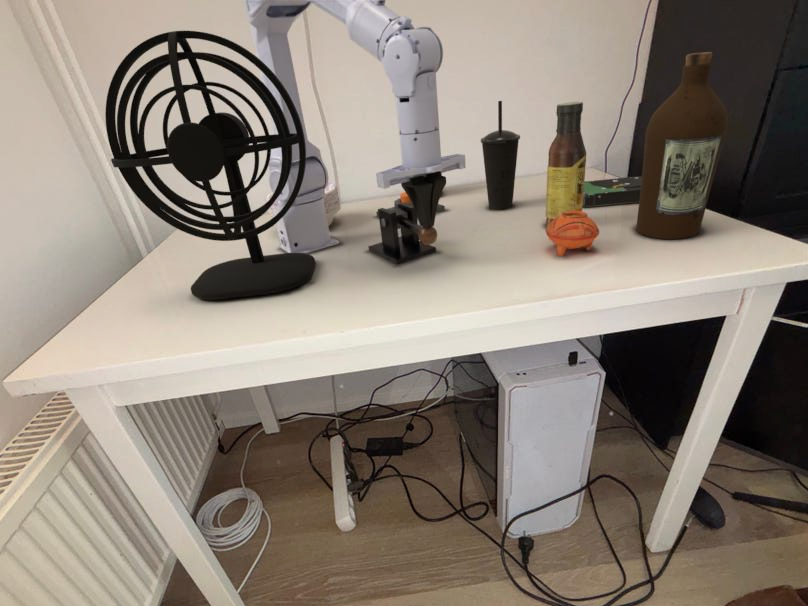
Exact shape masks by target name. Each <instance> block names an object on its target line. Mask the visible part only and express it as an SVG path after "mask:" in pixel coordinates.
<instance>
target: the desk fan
mask: <svg viewBox="0 0 808 606" xmlns="http://www.w3.org/2000/svg"><path fill="white" fill-rule="evenodd" d="M187 39H192V40H193V39H194V40H202V41H208V42H210V43H214V44H218V45H220V46H223V47H225V48H228V49H230V50H231V51H233V52H235V53H237V54H239V55H240V56H242V57H244V58H245V59H246V60H248V61H249V62H250V63H251V64H253V66H255V67H257V69H258V70H259V71H260V70H261V71H262V72H263V73H264V74H265V75H266V76H267V77H268V79H269V80H270V81H271V82H272V83H273V85H274V86H275V87H276V89H277V90H278V92H279V93H280V95H281V96H282V98H283V100H284V101H285V103H286V105H287V107H288V109H289V112H290V114H291V116H292V119H293V122H294V125H295V129H296V132H297V133H291V134H290V131H289V127H288V124H287V121H286V118H285V116H284V114H283V111H282V109H281V107H280V106H279V104H278V102H277V100H276V99H275V97H274V96H273V94H272V93H271V92H270V90H269V89H268V88H267V87H266V86H265V85H264V83H263V81H262V79H260V78H258V76H256V75H255V74H254V73H253V72H252V71H250V69H248V68H247V67H245V66H243V65H242V64H240V63H238V62H236V61H234V60H232V59H230V58H228V57H225V56H222V55H219V54H215V53H210V52H202V51H193V50H192V46H191V45H190V43H189V41H188V40H187ZM164 43H167V53H165V54H162V55H159V56H156V57H155V58H153V59H151V60H148V61H146V63H144V64H143V65H142V66H140V67H139V68H138V69H137V70H136V71H135V72H134V73H133V74H132V75H131V77H130V78H129V79H128V81H127V83H126V84H125V87H124V89H123V90H122V93H121V95H120V98H119V102H118V97H119V93H120V89H121V86H122V84H123V81H124V80H125V77H126V76H127V74H128V72H129V71H130V69H131V68H132V67H133V65H134V64H135V63H136V62H137V61H138V60H139V59H140V58H141V57H142V56H143V55H144V54H145V53H147V52H148V51H150V50H152V49H154V48H155V47H157V46H160V45H161V44H164ZM178 45H179V46H180V48H181V49H182V51H178ZM184 60H187V61H188V62H189V66H190V68H191V70H192V72H193V75H194V77H195V79H196V82H195V83H192V84H191V83H190V84H183V82H182V76H181V71H180V70H181V69H180V64H179V62H180V61H184ZM197 60H200V61H206V62H209V63H211V64H215V65H217V66H219V67H222V68H223V69H225V70H227V71H229V72H231V73H232V74H234V75H235V76H236V77H238V78H239V79H241V80H242V81H243V82H244V83H245V84H247V85H248V86H249V87H250V88H251V90H252V91H254V93H255V94H256V95H257V96H258V97H259V99H260V100H261V101H262V103H263V104H264V106H265V107H266V109H267V111H268V113H269V115H270V114H271V116H272V118H273V121H274V123H275V125H276V128H277V131H278V134H275V133H274V134H270V133H269V129H268V126H267V124H266V121H265V119H264V117H263V116H262V114H261V112H260V111H259V109H258V108H257V107H256V105H255V104H254V103H253V102H252V101H251V100H250V99H249V98H248V97H247V96H246V95H244V94H243V93H241V92H240V91H239V90H237V89H235V88H234V87H231V86H229V85H226V84H223V83H220V82H217V81H216V82H215V81H206V80H205V78H204V75H203V73H202V71H201V68H200V65H199V63H198V61H197ZM169 66H170V67H169ZM167 67H169V68H170V73H171V78H172V83H173V86H170V87H167V88H165V89H163V90H161V91H159V92H158V93H156V94H155V95H154V96H153V97H152V98H151V99H150V100H149V101H148V103H147V104H146V106H145V108H144V109H143V111H142V114H141V116H140V120H139V111H140V105H141V101H142V98H143V95H144V94H145V91H146V89H147V87H148V86H149V84H150V82H151V81H152V80H153V79H154V77H155V76H157V75H158V74H159V73H160V72H161V71H163V70H164V69H165V68H167ZM209 87H216V88H219V89H223V90H226V91H228V92H230V93H232V94H234V95H236V96H237V97H238V98H240V99H241V100H242V101H243V102H245V104H247V105H248V107H250V109H251V110H252V111H253V112H254V114H255V115H256V117H257V118H258V120H259V123H260V125H261V126H262V129H263V133H264V135H255V132H254V130H253V128H252V127H251V124H250V123H249V121H248V120H247V117H246V116H245V115H244V113H242V111H241V110H240V109H239V108H238V107H237V106H236V105H235V104H234V103H233V102H232V101H231V100H230V99H229V98H227V97H226V96H224V95H222V94H221V93H219V92H218V91H215V90H213V89H211V88H209ZM135 88H136V89H135ZM190 90H194V91H199V92H201V95H202V98H203V101H204V104H205V107H206V110H207V112H208V114H207V115H206V116H204V117H203V118H201V119H200V121H199V122H192V120H191V116H190V112H189V109H188V104H187V100H186V96H185V93H187V92H189V91H190ZM134 91H135V92H134ZM133 92H134V94H133ZM172 92H175V94H174V95H173V96H172V98H171V99H170V100H169V102H168V104H167V106H166V109H165V112H164V114H163V119H162V136H163V142H164V146H165V147H163V148H157V149H152V150H151V149H150V150H147V148H146V142H145V130H146V129H145V128H146V122H147V119H148V116H149V114H150V112H151V110H152V109H153V107H154V106H155V104H156V103H157V102H158V101H160V99H162V98H163V97H164V96H166V95H168V94H170V93H172ZM132 94H133V96H132ZM131 96H132V101H131V105H130V111H129V129H130V130H129V131H130V137H131V141H132V145H133V150H134V152H135V153H131V152H130V148H129V145H128V139H127V131H126V116H127V110H128V105H129V101H130V98H131ZM211 96H213V97H215V98H217V99H218V100H220V101H222V102H223V103H224V104H225V105H227V106H228V107H229V108H230V109H232V110H233V112H234V113H235V114H236V115H237V116H236V115H234V114H232V113H230V112H229V113H228V112H221V111H220V112H216V111H215V106H214V103H213V100H212V97H211ZM117 102H118V106H117ZM176 102H177V105H178V108H179V113H180V116H181V120H182V123H181V124H178V125H177V126H175V127H174V128H173V129H172V130H171V131H170V133H169V131H168V130H169V129H168V126H169V118H170V115H171V112H172V109H173V107H174V105H175V104H176ZM116 110H117V111H116ZM104 112H105V114H104V115H105V116H104V117H105V128H106V130H105V131H106V135H107V136H106V137H107V140H108V143H109V144H108V145H109V148H110V150H111V154H112V157H113V158H111V159H110V162H111V163H112V166H113V168H117V169H118V170H119V172H120V174H121V176H122V178H123V179H124V181H125V182H126V184H127V185H128V187H129V188H130V190H131V191H132V192H133V194H134V195H135V196H136V197H137V198H138V200H139V201H140V202H141V203H142V204H143V205H144V206H145V207H146V208H147V209H148V210H150V211H151V213H152V214H154V215H155V216H157V217H158V218H160V219H161V220H162V221H163V222H165V223H166V224H168V225H169V226H171V227H173V228H175V229H177V230H179V231H181V232H183V233H185V234H188V235H190V236H194V237H197V238H201V239H204V240H210V241H218V242H232V241H241V240H245V243H246V246H247V249H248V253H249V257H242V258H236V259H231V260H227V261H224V262H220V263H217V264H215V265H212V266H210V267H208V268H206V269H205V270H204V271H203V272H201V274H200V275H199V276H198V277H197V279H196V280H195V281H194V282H193V283H192V285H191V286H190V292H191V294H192V296H193V297H195V298H197V299H201V300H210V301H211V300H225V299H234V298H242V297H251V296H261V295H268V294H269V295H270V294H275V293H280V292H284V291H288V290H291V289H294V288H297V287H299V286H301V285H304V284H305V283H306V282H308V281H310V279H311V278H312V276H313V273H314V269H315V267H316V258H315V257H314V256H313V255H311V254H310V253H306V254H305V253H288V252H284V253H275V254H267V255H264V252H263V250H262V249H263V248H262V245H261V242H260V237H259V235H260V234H262V233H265V232H266V231H267V230H269V229H271V228H272V227H274V226H276V223H277V222H278V221H279V220H280V219H281V218H282V217H283V216H284V215H285V214H286V213H287V211H288V210H289V209H290V207H291V206H292V204H293V203H294V201H295V199H296V197H297V195H298V193H299V191H300V188H301V185H302V182H303V178H304V173H305V166H306V145H305V137H304V132H303V128H302V124H301V121H300V118H299V115H298V112H297V110H296V108H295V105H294V103H293V101H292V99H291V97H290V96H289V94H288V92H287V91H286V89H285V87H284V86H283V85H282V83H281V82H280V80H279V79H278V78H277V77H276V75H275V74H274V73H273V72H272V71H271V70H270V69H269V68H268V67H267V66H266V65H265V64H264V63H263V62H262V61H261V60H260V59H259V58H257V55H256V54H253V52H250V50H248V49H247V48H245V47H243V46H242V45H240V44H238V43H236V42H234V41H232V40H230V39H228V38H225V37H223V36H219V35H218V34H213V33H208V32H204V31H199V30H198V31H197V30H175V31H174V30H173V31H168V32H164V33H160V34H157V35H154V36H151V37H150V38H147V39H146V40H144V41H142V42H141V43H139V44H138V45H137V46H135V47H134V48H133V49H132V50H130V52H129V53H127V54H126V55H125V57H124V58H123V59H122V61H121V62H120V63H119V65H118V66H117V68H116V70H115V72H114V74H113V75H112V78H111V81H110V84H109V86H108V90H107V95H106V100H105V111H104ZM116 112H117V114H116ZM271 116H270V117H271ZM138 120H139V123H138ZM138 124H139V125H138ZM297 143H298V144H299V170H298V176H297V180H296V184H295V187H294V189H293V192H292V194H291V196H290V198H289V200H288V202H287V203H286V205H285V206H284V207H283V208H282V210H281V211H280V212H279V213H278V214H277V215H276V216H274V217H273V218H272V219H270V220H268V221H266V222H265V223H262V225H259V226H256V223H255V221H257V220H258V219H259V218H261V217H262V216H264V214H265V213H266V212H268V209H269V208H270V207H271V206H272V204H273V203H274V202H275V200H276V199H277V198H278V196H279V195H280V194H281V192H282V190H283V189H284V187H285V185H286V182H287V180H288V177H289V174H290V170H291V164H292V145H294V144H297ZM276 148H281V150H282V168H281V174H280V179H279V182H278V185H277V188H276V190H275V192H274V194H273V196H272V197H271V199H270V200H269V201H268V202H267V203H266V202H265V203H264V204H263V205H261V206H260V207H258V208H256V209H254V210H252V208H251V205H250V201H249V198H248V195H247V194H248V193H249V192H250V191H251V189H253V188H254V187H256V185H257V184H258V183H260V181H261V180H262V179H263V177H264V175H265V174H266V172H267V170H268V169H269V166H268V165H269V161H270V156H271V153H272V150H274V149H276ZM264 151H266V158H265V161H264V166H263V167H262V168H263V169H262V170H261V172H260V174H259V175H258V172H259V168H260V152H264ZM252 153H254V154H253V155H254V165H253V172H252V176H251V178H250V182H249V183H248V185H247V186H246V187H245V183H244V180H243V175H242V172H241V169H240V165H239V161H240V160H241V159H243V158H244V156H245V155H247V154H252ZM161 165H173V167H174V169H176V171H178V173H180V174H181V176H183V177H184V178H185V180H187V181H188V182H189V183H191V184H192V185H193V186H195V187H196V188H198V189H200V190H202V191H204V192H205V194H206V198H207V199H208V202H209V203H210V204H202V203H198V202H195V201H191V200H189V199H186V198H185V197H183V196H181V195H179V194H178V193H176V192H175V190H173V189H171V188H170V187H169V186H168V185H167V184H166V183H165V182H164V181H163V180H162V179H161V177H160V176H159V174H158V173H157V172H156V170H155V168H154V167H153V166H161ZM140 167H141V169H142V170H143V171H144V174H145V175H146V176H147V178H148V179H149V181H150V182H151V184H153V186H154V187H155V188H156V189H157V191H158V192H160V193H161V195H162V196H163V197H164V198H166V199H167V201H169V202H171V203H172V204H173V205H174V206H176V207H177V208H178V209H179V210H182V211H184V212H185V213H188V214H190V215H192V216H193V217H197V218H200V219H202V220H205V221H200V220H198V219H194V218H192V217H189V216H187V215H185V214H182V213H181V212H180V211H177V210H176V209H174V208H172V207H171V206H169V205H168V204H167V203H166V202H165V201H163V200H162V199H161V198H160V197H158V195H157V194H156V193H155V192H154V191H153V190H152V189H151V188H150V187H149V185H148V184H147V183H146V181H145V180H144V178H143V177H142V175H141V174H140V172H139V170H138V168H140ZM223 169H224V172H225V176H226V181H227V184H228V190H229V191H223V190H222V191H221V190H216V189H213V187H212V183H211V182H210V181H212V180H214V179H215V178H217V177H218V176H219V175H220V174H221V172H222V170H223ZM257 176H258V177H257ZM199 182H200V183H199ZM216 195H217V196H225V197H226V196H227V197H228V196H230V199H231V200H230V201H227V202H225V203H220V204H219V203H218V202H219V201H218V200H217V197H216ZM229 207H232V216H224V213H223V212H222V210H221V209H226V208H229ZM197 209H201V210H209V211H211V210H212V211H213V214H209V213H206V212H203V211H200V210H197ZM206 221H210V222H206ZM211 222H215V223H211ZM202 229H205V230H202ZM207 230H211V231H207ZM212 231H223V233H220V232H218V233H217V232H212Z"/></svg>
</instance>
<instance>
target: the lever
mask: <svg viewBox="0 0 808 606" xmlns="http://www.w3.org/2000/svg"><path fill="white" fill-rule="evenodd" d="M390 211H393V212H396V218H397V227H398V230H399V229H400V230H401V228H403V227H405V228H407V229H409V230H411V231H412V232H414V233H416V234H418V236H419V241H421V242H422V243H423V244H425V245H433V244H434V243H436V241H437V239H438V231H437V229H436V227H434V226H432V227H429V228H425V227H422V226H420V224H419V223H418V224H416V223H414V222H413V221H411V220H409V219H408V215H407V212H406V211H404V210H402V209H400V208H397V209H393V210H390Z"/></svg>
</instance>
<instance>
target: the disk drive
mask: <svg viewBox="0 0 808 606" xmlns="http://www.w3.org/2000/svg"><path fill="white" fill-rule="evenodd" d="M641 181H642V175H635V176H626V177H618V178H617V177H616V178H608V179H598V180H586V181H585V180H584V192H583V205H582V207H587V208H589V207H603V206H612V205H621V204H622V205H624V204H634V203H639V200H640V191H641Z"/></svg>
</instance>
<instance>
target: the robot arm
mask: <svg viewBox="0 0 808 606" xmlns="http://www.w3.org/2000/svg"><path fill="white" fill-rule="evenodd" d="M243 2H244V6H245V11H246V15H247V20H248V23H249V28H250V32H251V37H252V41H253V45H254V50H255V56H256V57H257V58H259V59H260V60H261V61H262V62H263V63H264V64H265V65H266V66H267V67H268V68H269V69H270V70H271V71H272V72H273V73H274V74H275V75H276V77H277V78H278V79H279V80H280V82H281V83H282V85H283V86H284V87H285V89H286V91H287V92H288V94H289V96H290V97H291V99H292V101H293V103H294V105H295V108H296V110H297V112H298V115H299V118H300V121H301V124H302V128H303V132H304V137H305V145H306V166H305V173H304V178H303V182H302V185H301V188H300V191H299V193H298V195H297V197H296V199H295V201H294V203H293V204H292V206H291V207H290V209H289V210H288V211H287V213H286V214H285V215H284V216H283V217H282V218H281V219H280V220H279V221H278V222H277V223H276V224H275V229H276V231H277V235H278V240H279V243H280V245H279V248H280V249H282V250H283V251H285V253H305V254H310V253H313V252H316V251H320V250H322V249H327V248H330V247H333V246H337V245H339V244H340V241H339V240H337V239H335V238H333V237H331V232H330V226H328V222H327V216H326V211H325V206H324V201H323V195H324V194H325V190H324V189H325V188H326V187H327V184H328V183H329V173H328V168H327V167H326V164H325V162H324V161H323V157H322V154H321V150H320V148H319V147H317V146H316V145H315V144H314V143H312V142H310V140H309V138H308V135H307V129H306V124H305V120H304V114H303V109H302V104H301V98H300V93H299V88H298V83H297V78H296V73H295V68H294V64H293V63H294V62H293V58H292V53H291V47H290V44H289V38H288V37H289V36H288V33H289V31H290V29H291V27H292V25H293V23H295V21H297V20H298V19H299V18H300V17H301V16H302V15H303V14H304V12H306V11H307V10H308V8H309V7H311V6H312V5H314V6H315V7H317V8H319V9H321V10H322V11H324V12H325V13H326V14H329V15H330V16H331V17H333V18H335V19H336V20H338V21H340V22H341V23H342V24H344V25H346V30H347V35H348V37H349V39H350V40H351V41H352V42H353V43H355V44H356V45H358V46H359V47H360V48H361V49H363V50H364V51H366V52H367V53H368V54H370V55H371V56H372V57H374V58H375V59H377V60H378V61H379V62H380V63H381V65H382V68H383V71H384V73H385V74H386V76H387V78H388V79H389V81H390V84H391V92H392V93H393V94H394V97H395V106H396V107H395V108H396V115H397V127H398V135H399V137H398V138H399V146H400V155H401V164H399V165H397V166H394V167H392V168H389V169H386V170H383V171H379V172H376V173H375V177H376V184H377V185H376V186H377V188H380V189H383V190H385V189H389V188H391V187H393V186H396V185H401V188H402V189H403V190H404V193H405V192H406V193H407V195H408V197H409V198H410V200H411V202H412V204H413V206H414V209H415V211H416V214H417V217H418V219H417V221H418V224H419V225H420V226H422V227H425V228H429V227H432V226H433V227H434V226H435V221H436V217H437V216H436V215H437V213H436V210H437V206H438V204H439V202H440V199H441V197H442V195H441V193H442V194H443V191H444V189H445V187H446V185H447V177H446V175H442V176H441V173H442V174H443V173H447V172H451V171H455V170H464V169H466V167H467V165H466V154H463V153H462V154H461V153H454V154H449V155H443V156H442V149H441V136H440V135H441V134H440V119H439V104H438V103H439V101H438V87H437V72H439V70H440V68H441V66H442V63H443V59H444V48H443V43H442V41H441V39H440V37H439V36H438V34H437V33H436V32H435V31H434V29H432V28H431V27H430V26H419V27H416V28H415V27H414V24H412V18H410V17H409V16H407V15H399V14H398V13H396V12H395V11H394V10H392V9H391V8H389V7H388V6H387V5H385V4H386V0H243ZM259 72H260V76H261V81H262V82H263V83H264V85H265V86H266V87H267V88H268V89H269V90H270V92H271V93H272V94H273V96H274V97H275V99H276V100H277V102H278V104H279V106H280V107H281V109H282V111H283V114H284V116H285V118H286V121H287V124H288V127H289V131H290V134H291V133H297V132H296V129H295V125H294V122H293V119H292V116H291V114H290V112H289V109H288V107H287V105H286V103H285V101H284V100H283V98H282V96H281V95H280V93H279V92H278V90H277V89H276V87H275V86H274V85H273V83H272V82H271V81H270V80H269V79H268V77H267V76H266V75H265V74H264V73H263V72H262V71H261V70H260V69H259ZM269 115H270V119H271V124H272V128H273V132H274V135H275V134H278V131H277V128H276V125H275V123H274V121H273V118H272V116H271V114H270V113H269ZM281 168H282V150H281V148H276V149H272V151H271V156H270V161H269V165H268V184H269V188H270V190H271V193H273V194H274V192H275V190H276V188H277V185H278V182H279V179H280V174H281ZM298 170H299V144H298V143H297V144H294V145H292V164H291V170H290V174H289V177H288V180H287V182H286V185H285V187H284V189H283V190H282V192H281V194H280V195H279V196H278V198H277V199H278V200H280V202H281V203H283V204H281V205H278V206H275V207H274V208H273V215H274V216H276V215H277V214H278V213H279V212H280V211H281V210H282V208H283V207H284V206H285V205H286V203H287V202H288V200H289V198H290V196H291V194H292V192H293V189H294V187H295V184H296V180H297V176H298Z"/></svg>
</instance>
